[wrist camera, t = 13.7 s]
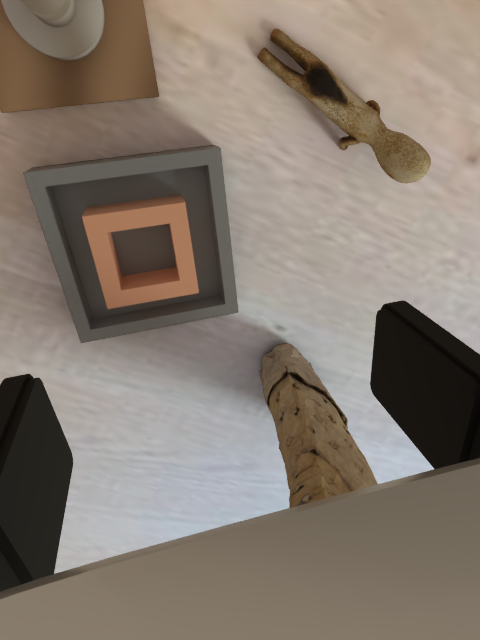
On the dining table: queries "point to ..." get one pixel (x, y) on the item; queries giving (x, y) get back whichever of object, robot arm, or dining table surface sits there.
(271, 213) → the dining table surface
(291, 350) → the tan log
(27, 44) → the brown piece
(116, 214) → the ring
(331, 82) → the figurine
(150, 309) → the tray
